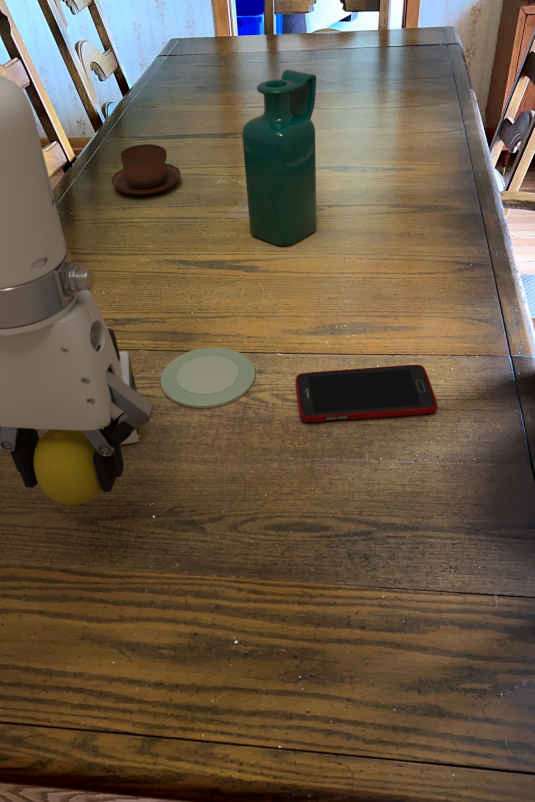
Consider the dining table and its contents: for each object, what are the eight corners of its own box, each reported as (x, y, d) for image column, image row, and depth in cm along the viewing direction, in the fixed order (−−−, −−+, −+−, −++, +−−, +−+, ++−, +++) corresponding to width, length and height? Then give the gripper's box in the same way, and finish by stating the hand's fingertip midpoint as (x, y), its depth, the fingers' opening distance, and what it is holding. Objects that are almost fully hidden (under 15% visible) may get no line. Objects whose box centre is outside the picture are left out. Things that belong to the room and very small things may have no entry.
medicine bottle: (141, 443, 75) (119, 350, 68) (72, 453, 75) (43, 361, 67) (139, 400, 81) (119, 310, 73) (75, 410, 80) (48, 320, 72)
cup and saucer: (127, 172, 132) (121, 138, 128) (189, 173, 130) (185, 139, 126) (103, 199, 123) (95, 164, 119) (169, 202, 121) (164, 166, 117)
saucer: (151, 407, 80) (150, 403, 79) (171, 349, 88) (170, 345, 88) (249, 409, 78) (248, 406, 78) (260, 350, 87) (259, 347, 86)
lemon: (67, 470, 62) (45, 400, 57) (125, 482, 61) (108, 411, 56) (34, 517, 58) (7, 447, 53) (95, 531, 57) (74, 460, 52)
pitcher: (285, 250, 106) (278, 95, 91) (244, 234, 110) (231, 84, 96) (327, 225, 111) (326, 75, 97) (286, 211, 115) (280, 66, 101)
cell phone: (438, 414, 76) (439, 407, 75) (300, 424, 76) (300, 418, 75) (423, 370, 82) (423, 363, 81) (294, 379, 82) (294, 373, 81)
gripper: (157, 258, 48) (186, 449, 60) (-84, 253, 50) (-9, 440, 62) (129, 321, 42) (168, 519, 54) (-141, 313, 44) (-47, 506, 56)
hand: (73, 475), depth 58 cm, fingers closed on lemon, 5 cm apart
